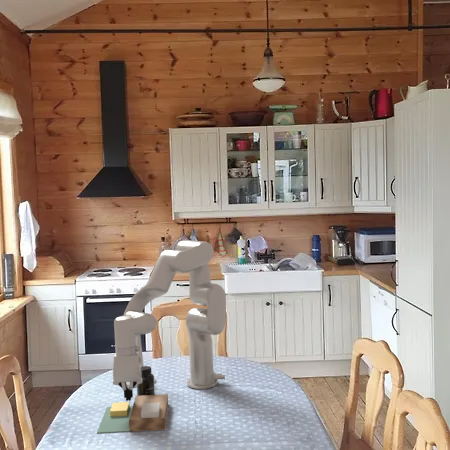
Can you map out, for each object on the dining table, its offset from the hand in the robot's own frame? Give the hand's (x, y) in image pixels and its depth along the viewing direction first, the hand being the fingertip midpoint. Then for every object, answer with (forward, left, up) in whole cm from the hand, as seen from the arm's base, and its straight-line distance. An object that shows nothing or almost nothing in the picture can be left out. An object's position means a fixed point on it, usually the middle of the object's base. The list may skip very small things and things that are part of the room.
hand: (128, 399), depth 214 cm
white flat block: (-9, +12, -1) cm, 15 cm away
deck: (-8, +6, -5) cm, 11 cm away
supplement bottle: (-5, -14, -5) cm, 15 cm away
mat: (+3, +6, -5) cm, 8 cm away
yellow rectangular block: (+3, 0, -3) cm, 4 cm away
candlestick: (-1, -32, -5) cm, 32 cm away
